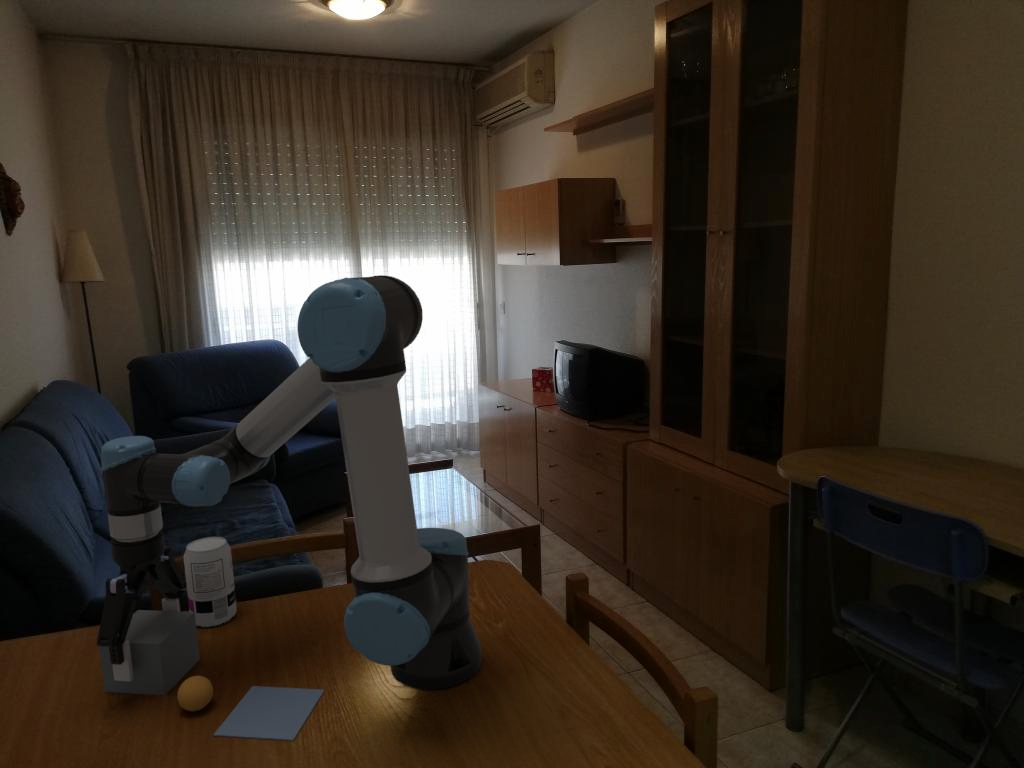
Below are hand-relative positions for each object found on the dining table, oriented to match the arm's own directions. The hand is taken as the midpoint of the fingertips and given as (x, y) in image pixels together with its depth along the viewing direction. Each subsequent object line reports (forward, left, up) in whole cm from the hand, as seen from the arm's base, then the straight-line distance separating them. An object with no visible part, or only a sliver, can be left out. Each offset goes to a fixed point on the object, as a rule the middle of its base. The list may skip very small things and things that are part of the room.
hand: (150, 655), depth 121 cm
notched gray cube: (0, 0, -4) cm, 4 cm away
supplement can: (0, -19, -4) cm, 19 cm away
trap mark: (-24, +8, -4) cm, 26 cm away
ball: (-12, +8, -1) cm, 15 cm away
